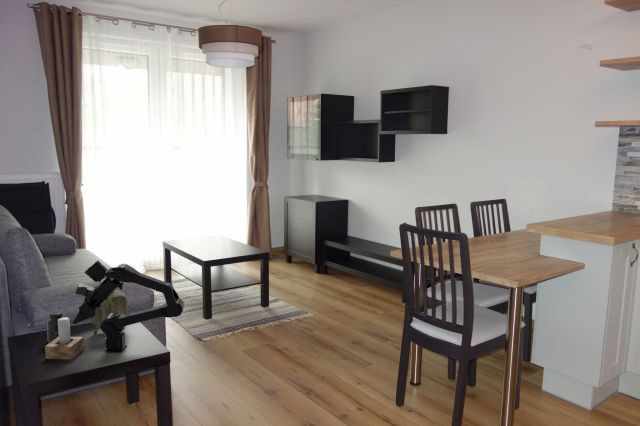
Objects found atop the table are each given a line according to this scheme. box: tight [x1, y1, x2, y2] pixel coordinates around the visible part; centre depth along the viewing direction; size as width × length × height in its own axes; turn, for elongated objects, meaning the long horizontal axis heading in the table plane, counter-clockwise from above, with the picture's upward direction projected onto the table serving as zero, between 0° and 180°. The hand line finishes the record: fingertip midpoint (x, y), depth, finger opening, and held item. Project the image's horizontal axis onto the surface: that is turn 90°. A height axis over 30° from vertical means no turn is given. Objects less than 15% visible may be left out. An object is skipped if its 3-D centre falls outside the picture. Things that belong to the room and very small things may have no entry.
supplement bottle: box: [46, 310, 64, 344], centre depth 213 cm, size 7×7×12 cm
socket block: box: [44, 336, 85, 360], centre depth 200 cm, size 10×10×5 cm
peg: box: [58, 317, 71, 344], centre depth 200 cm, size 4×4×13 cm
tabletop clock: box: [89, 276, 129, 334], centre depth 222 cm, size 14×9×25 cm, turn 133°
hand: (75, 319), depth 200 cm, fingers open, 9 cm apart
